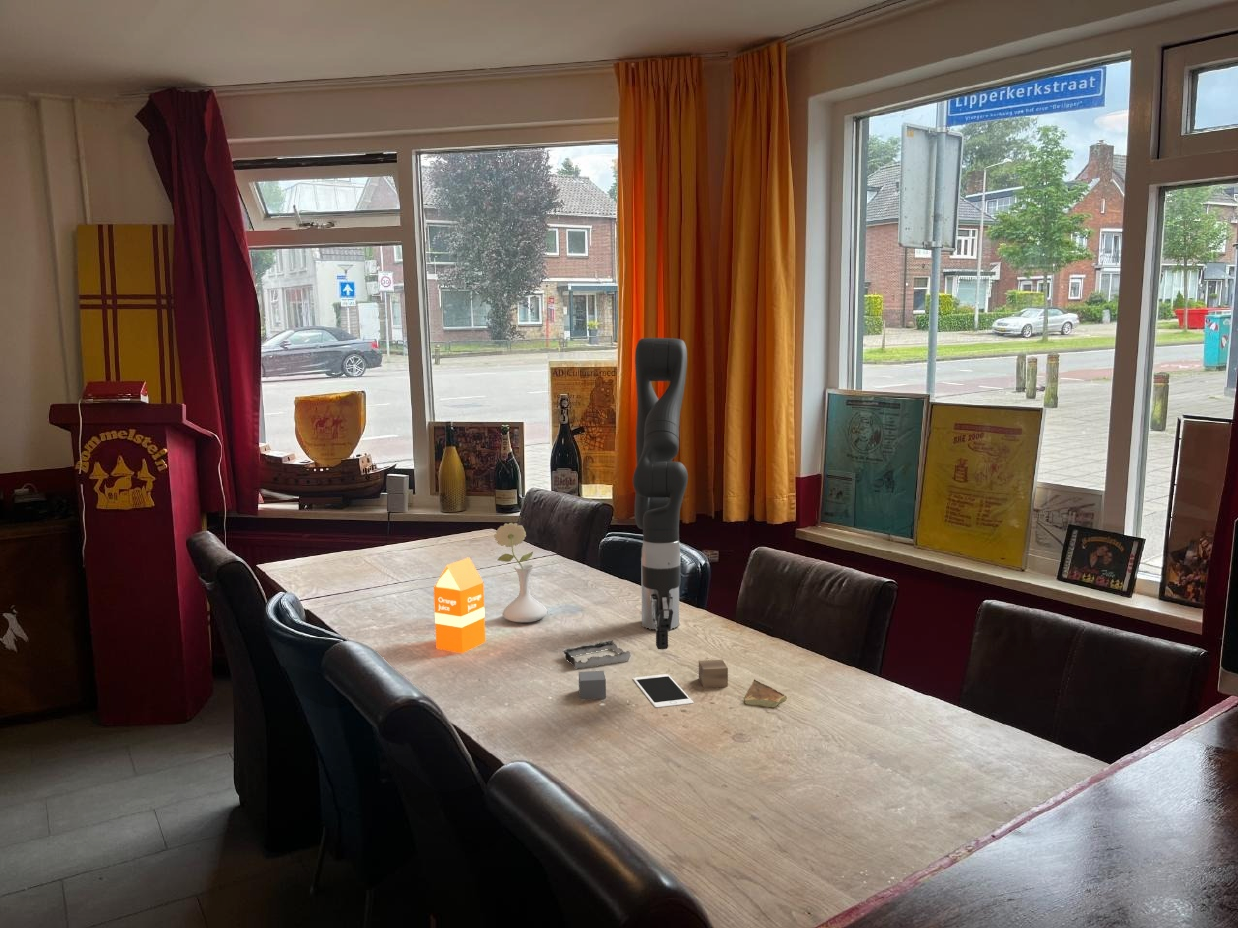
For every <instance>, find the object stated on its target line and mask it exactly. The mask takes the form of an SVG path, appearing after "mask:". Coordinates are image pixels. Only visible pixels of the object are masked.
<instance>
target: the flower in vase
mask: <svg viewBox="0 0 1238 928" xmlns="http://www.w3.org/2000/svg"><path fill="white" fill-rule="evenodd" d="M493 537H494V539H495V541H496V544H498V545H499V546H502V547H504V546H505V547H506V548H511V554H510V553H504V554H503V553H502V554H501V555H500V556H499V557H498V559H497V561H499V562H500V561H501V562H504V563H505V562H507V563H509V562H511V561H512V560H513V559H515V561H516V562H517V563H518V564H517V565H514V566H513V569H514V570H515V571H516V573H517V576H518V581H519V592H518V595H517V597H516V598H515V599H514V600H512V601H511V602H510V603H509V604H508V605H507V606H506V607H505V608H504V609H503V611H502V614H501V615H502V616H503V618H504V619H505V620H507V621H509V622H513V623H533V622H536V621H540V620H541V619H544V618H545V617H546V616H547V614H548V610H547V608H546V607H545V606H544V604H543V603H541V602H539V601H538V600H537V599H535V598H534V597H533V596H532V595H531V592H530V586H529V584H530V574H531V572H532V569H534V565H533V564H529V563H528V564H527V563H525V564H524V563H521V562H525V561H528V560H529V559H531V557H532V555H533V554H534V551H532V552H531V551H530V552H529V553H526V554H524V555H522V556H521V558H520V559H518V558H517V556H516V555H515V552H514V546H515V547H517V546H518V545H520V544H522V543H524V540H525V539H526V537H527V532H526V530H525V528H524V526H523V525H521V524H520V525H518V523H517V522H515V523H513V522H509V523H504V524H503V525H500V526H499V527H498V528H497V530H496V531H495V534H494V536H493Z"/></svg>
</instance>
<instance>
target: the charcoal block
mask: <svg viewBox="0 0 1238 928" xmlns="http://www.w3.org/2000/svg"><path fill="white" fill-rule="evenodd" d="M606 684H607V682H606V675H605V672H604V670H589V671H588V670H587V671H578V692H579V693H578V694H579V698H580V701H582V700H583V701H587V700H605V699H607V685H606Z"/></svg>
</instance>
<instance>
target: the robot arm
mask: <svg viewBox="0 0 1238 928" xmlns="http://www.w3.org/2000/svg"><path fill="white" fill-rule="evenodd" d="M634 354H635V355H634V364H635V365H634V366H635V368H634V369H635V382H636V383H635V384H636V386H635V387H636V401H637V402H636V405H637V406H636V409H637V410H636V429H635V430H636V431H635V434H636V435H635V441H636V442H635V443H636V444H635V448H636V449H635V452H636V454H635V455H636V467H635V469H634V472H633V476H632V485H633V489H634V491H635V495H634V496H635V497H634V498H635V499H634V520H635V525H636V526H637V528H638V529H640V530H642V539H643V540H642V546H641V549H640V561H641V562H640V563H641V565H640V568H641V571H640V572H641V575H640V576H641V578H640V579H641V580H640V581H641V626H642V625H643V626H644V627H646V628H645V629H647V628H649V629H648V630H651V629H656V630H655V646H656V649H657V650H667V649H668V648H669V631H670V630H673V629H672V628H674V629H676V628H675V627H677V626H678V625H679V626H680V586H681V581H682V580H681V546H680V513H681V508H682V503H683V499H684V495H685V492H686V489H687V486H688V481H689V474H688V470H687V468H686V466H685V465H684V463H682V462H680V461H673V459H675V458H676V457H677V455H678V453H679V448H680V421H681V420H680V417H681V410H682V404H683V399H684V393H685V388H686V387H685V385H686V380H687V379H686V377H687V369H688V367H687V366H688V349H687V345H686V342H685V341H684V340H683V339H681V338H673V337H671V338H670V337H669V338H667V337H643V338H640V339H639V341H638V342H637V344H636V347H635V352H634ZM652 382H669V385H668V387H667V389H666V390H665V392H663V394H662V395H661V397H659V398H658V396H657V394H656V392H655V389H654V387H653V384H652ZM643 626H642V627H643ZM679 626H678V627H679ZM644 627H643V628H644ZM678 627H677V628H678Z"/></svg>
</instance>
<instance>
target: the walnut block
mask: <svg viewBox="0 0 1238 928" xmlns="http://www.w3.org/2000/svg"><path fill="white" fill-rule="evenodd" d="M728 669H729V668H728V666H727V665H726V662H724V660H723V659H709V660H705V659H704V660H698V680H699V682H700V684H701V685H702V688H705V689H706V688H719V687H720V688H721V687H724V688H726V687H729V681H728V680H729V670H728Z"/></svg>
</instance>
